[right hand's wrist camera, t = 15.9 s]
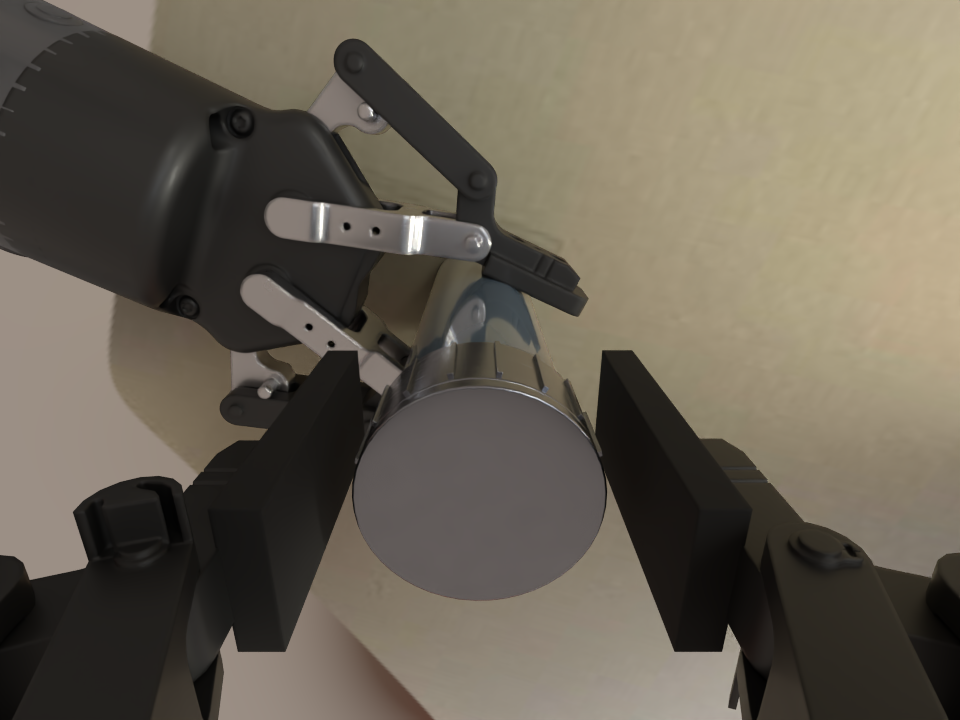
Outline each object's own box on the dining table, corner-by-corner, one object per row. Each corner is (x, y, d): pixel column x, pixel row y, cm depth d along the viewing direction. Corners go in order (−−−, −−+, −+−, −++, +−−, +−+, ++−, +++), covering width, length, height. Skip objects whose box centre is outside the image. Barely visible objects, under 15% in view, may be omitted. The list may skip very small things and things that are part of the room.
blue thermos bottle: (530, 248, 25) (606, 395, 10) (518, 335, 26) (568, 577, 11) (438, 238, 25) (375, 373, 10) (431, 326, 26) (367, 560, 11)
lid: (343, 363, 12) (310, 413, 9) (569, 315, 11) (591, 355, 9) (403, 544, 13) (388, 621, 11) (602, 507, 13) (626, 580, 11)
